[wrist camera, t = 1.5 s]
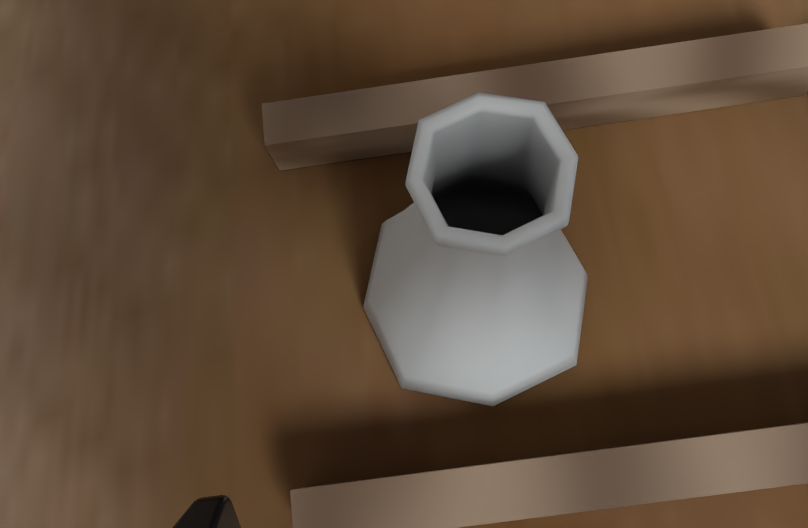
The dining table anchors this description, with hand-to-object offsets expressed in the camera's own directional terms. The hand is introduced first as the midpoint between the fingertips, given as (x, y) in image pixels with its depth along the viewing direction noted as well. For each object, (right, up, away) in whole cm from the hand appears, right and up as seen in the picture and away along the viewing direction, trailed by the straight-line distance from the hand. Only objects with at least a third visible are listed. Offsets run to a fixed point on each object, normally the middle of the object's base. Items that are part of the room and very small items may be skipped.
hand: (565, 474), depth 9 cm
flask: (0, +2, +13) cm, 13 cm away
